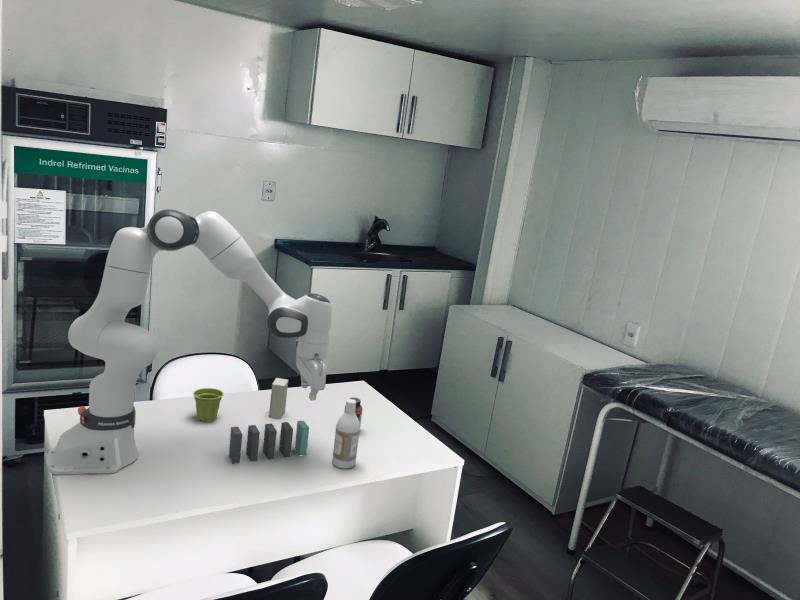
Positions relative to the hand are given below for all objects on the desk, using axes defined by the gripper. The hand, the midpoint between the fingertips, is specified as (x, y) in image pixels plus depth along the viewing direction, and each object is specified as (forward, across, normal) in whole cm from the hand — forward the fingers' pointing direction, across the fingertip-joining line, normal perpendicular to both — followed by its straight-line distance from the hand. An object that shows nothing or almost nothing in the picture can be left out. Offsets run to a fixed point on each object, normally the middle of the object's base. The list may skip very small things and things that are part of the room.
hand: (308, 393), depth 186 cm
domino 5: (+19, 0, 0) cm, 19 cm away
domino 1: (+19, -2, +20) cm, 28 cm away
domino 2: (+19, -1, +15) cm, 24 cm away
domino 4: (+19, 0, +5) cm, 20 cm away
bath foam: (+19, -9, -10) cm, 24 cm away
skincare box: (+19, +27, +2) cm, 33 cm away
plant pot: (+19, +27, +25) cm, 42 cm away
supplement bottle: (+19, +12, -20) cm, 30 cm away
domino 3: (+19, -1, +10) cm, 22 cm away
